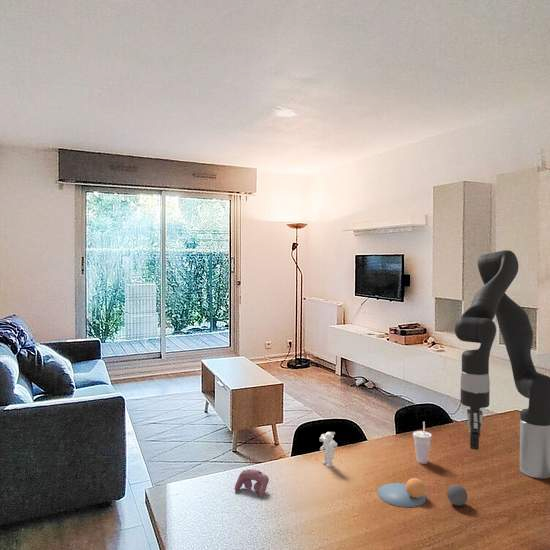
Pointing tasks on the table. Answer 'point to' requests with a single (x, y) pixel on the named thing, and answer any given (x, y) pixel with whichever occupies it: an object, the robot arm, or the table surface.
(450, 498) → the grey ball
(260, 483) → the red animal figurine
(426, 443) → the smoothie
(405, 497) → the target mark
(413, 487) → the object ball
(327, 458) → the white humanoid figurine
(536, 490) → the table surface
